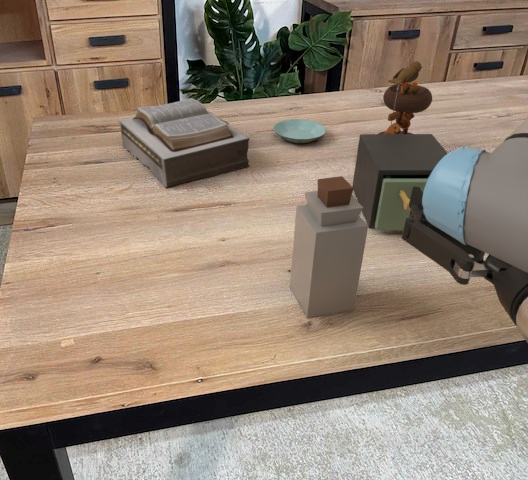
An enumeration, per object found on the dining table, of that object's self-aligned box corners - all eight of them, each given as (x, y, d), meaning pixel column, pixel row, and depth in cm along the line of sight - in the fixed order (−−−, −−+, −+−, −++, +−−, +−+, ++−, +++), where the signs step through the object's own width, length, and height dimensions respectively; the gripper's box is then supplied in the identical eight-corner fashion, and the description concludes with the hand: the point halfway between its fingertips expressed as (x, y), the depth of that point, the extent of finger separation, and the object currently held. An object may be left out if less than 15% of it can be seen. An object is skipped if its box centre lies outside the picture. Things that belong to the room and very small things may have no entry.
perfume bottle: (333, 280, 78) (349, 168, 68) (353, 310, 72) (373, 193, 63) (289, 287, 77) (299, 174, 67) (306, 317, 71) (319, 199, 62)
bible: (214, 127, 129) (214, 87, 124) (256, 173, 108) (258, 127, 102) (119, 140, 124) (114, 98, 118) (143, 192, 102) (138, 144, 97)
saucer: (331, 132, 125) (332, 123, 124) (315, 151, 116) (316, 141, 115) (283, 125, 130) (284, 116, 128) (265, 142, 121) (265, 133, 120)
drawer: (458, 247, 83) (473, 196, 78) (383, 246, 83) (392, 196, 79) (423, 191, 98) (433, 146, 93) (359, 191, 99) (366, 146, 94)
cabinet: (446, 228, 89) (461, 169, 83) (368, 228, 90) (378, 170, 84) (419, 187, 102) (431, 133, 96) (352, 187, 102) (359, 134, 96)
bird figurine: (415, 172, 107) (427, 71, 96) (361, 165, 112) (367, 68, 102) (432, 145, 118) (444, 51, 107) (382, 140, 123) (389, 50, 113)
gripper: (409, 335, 51) (363, 221, 69) (678, 339, 50) (561, 222, 68) (426, 273, 47) (372, 168, 65) (718, 275, 46) (582, 169, 64)
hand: (468, 196), depth 66 cm, fingers open, 13 cm apart
